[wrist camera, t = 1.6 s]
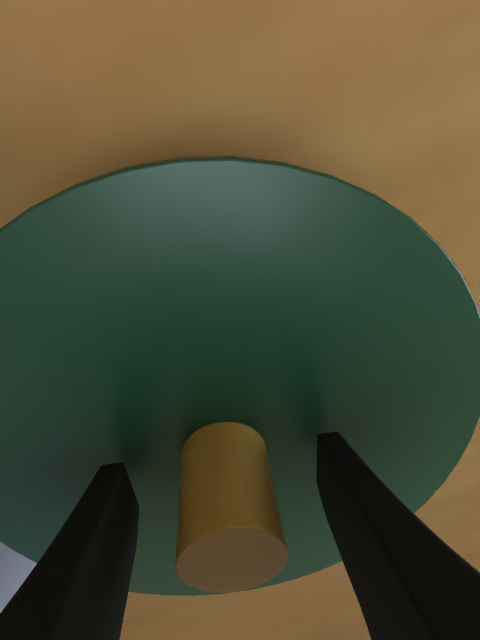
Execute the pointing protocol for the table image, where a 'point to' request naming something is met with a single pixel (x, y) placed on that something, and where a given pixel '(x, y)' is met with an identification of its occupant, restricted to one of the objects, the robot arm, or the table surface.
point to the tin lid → (225, 362)
